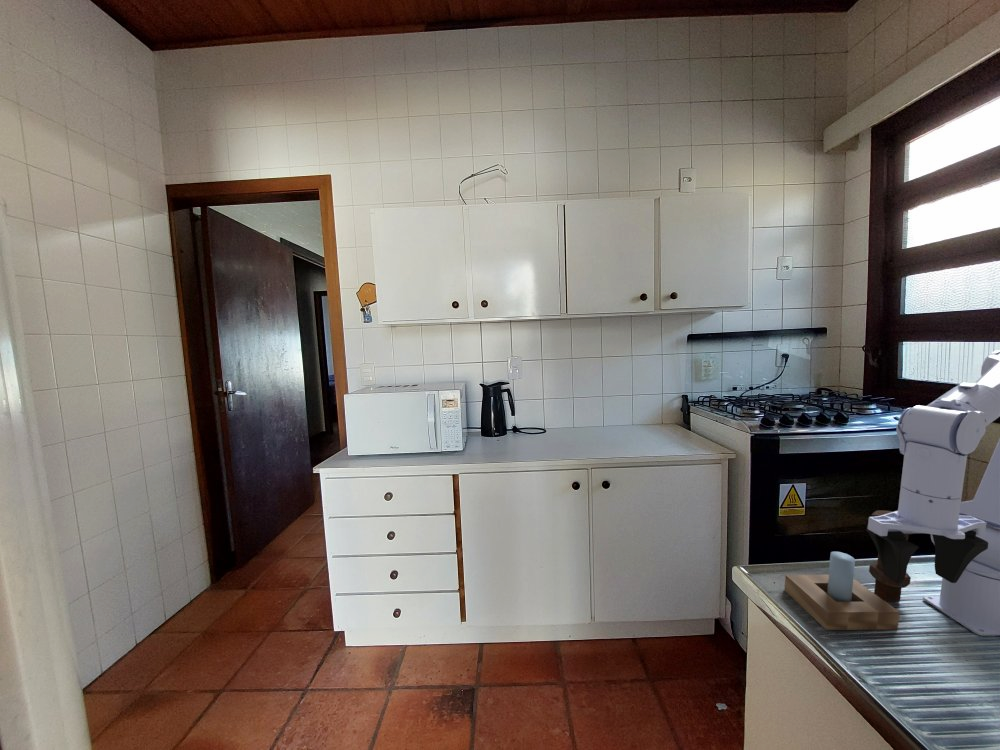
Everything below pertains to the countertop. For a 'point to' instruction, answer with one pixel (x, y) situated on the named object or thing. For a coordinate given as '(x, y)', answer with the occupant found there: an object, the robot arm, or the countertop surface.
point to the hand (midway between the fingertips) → (919, 578)
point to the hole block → (841, 605)
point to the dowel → (841, 577)
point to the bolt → (883, 584)
